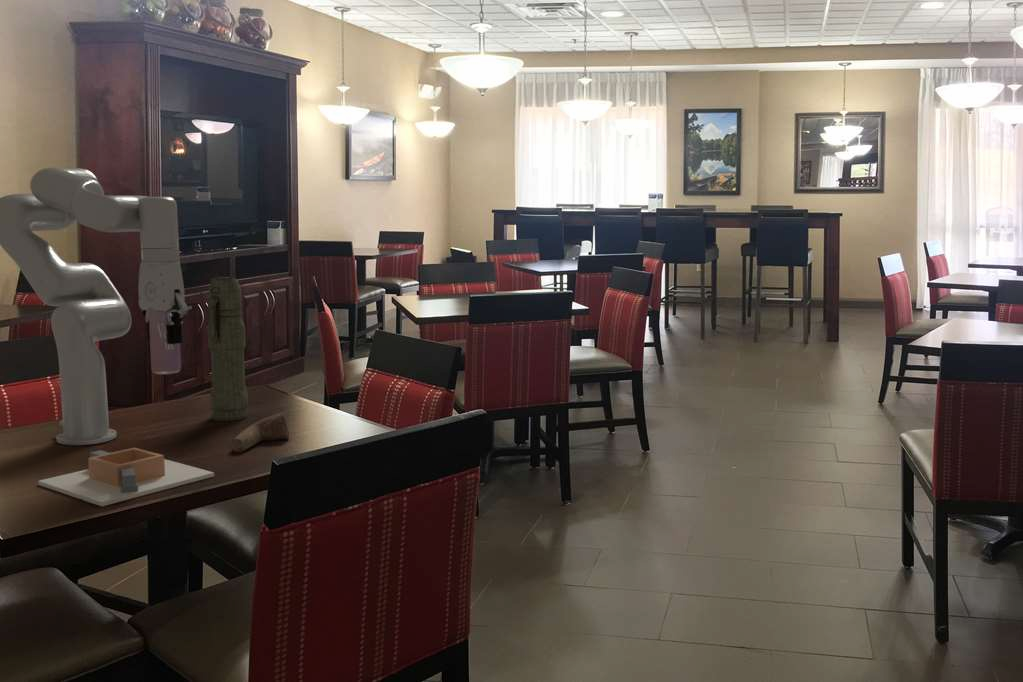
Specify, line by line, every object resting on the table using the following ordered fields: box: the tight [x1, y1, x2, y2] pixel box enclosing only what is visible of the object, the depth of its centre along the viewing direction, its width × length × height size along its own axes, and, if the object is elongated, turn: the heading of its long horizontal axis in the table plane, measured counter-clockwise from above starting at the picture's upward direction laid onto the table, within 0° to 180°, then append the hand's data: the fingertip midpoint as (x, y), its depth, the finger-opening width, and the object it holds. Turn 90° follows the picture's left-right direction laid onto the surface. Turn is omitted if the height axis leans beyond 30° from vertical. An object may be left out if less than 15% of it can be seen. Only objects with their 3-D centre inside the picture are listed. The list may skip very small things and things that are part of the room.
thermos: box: [207, 276, 249, 422], centre depth 247 cm, size 9×12×35 cm
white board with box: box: [37, 447, 215, 507], centre depth 194 cm, size 22×24×5 cm
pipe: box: [230, 411, 290, 453], centre depth 223 cm, size 6×17×10 cm
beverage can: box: [148, 307, 182, 375], centre depth 210 cm, size 6×6×15 cm
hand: (164, 341), depth 210 cm, fingers closed on beverage can, 6 cm apart
